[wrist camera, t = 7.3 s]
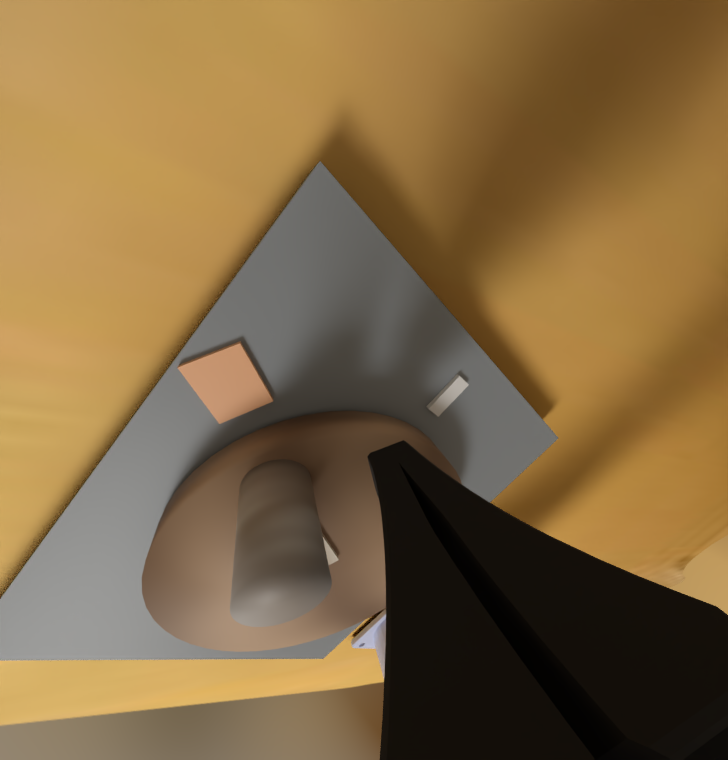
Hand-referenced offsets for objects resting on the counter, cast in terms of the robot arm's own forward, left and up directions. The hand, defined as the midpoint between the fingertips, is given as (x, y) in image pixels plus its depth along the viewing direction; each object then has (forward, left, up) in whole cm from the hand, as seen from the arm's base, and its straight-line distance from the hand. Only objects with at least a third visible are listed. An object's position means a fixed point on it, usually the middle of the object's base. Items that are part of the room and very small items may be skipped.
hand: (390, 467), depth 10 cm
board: (-2, +6, -4) cm, 8 cm away
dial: (-2, +6, -3) cm, 7 cm away
